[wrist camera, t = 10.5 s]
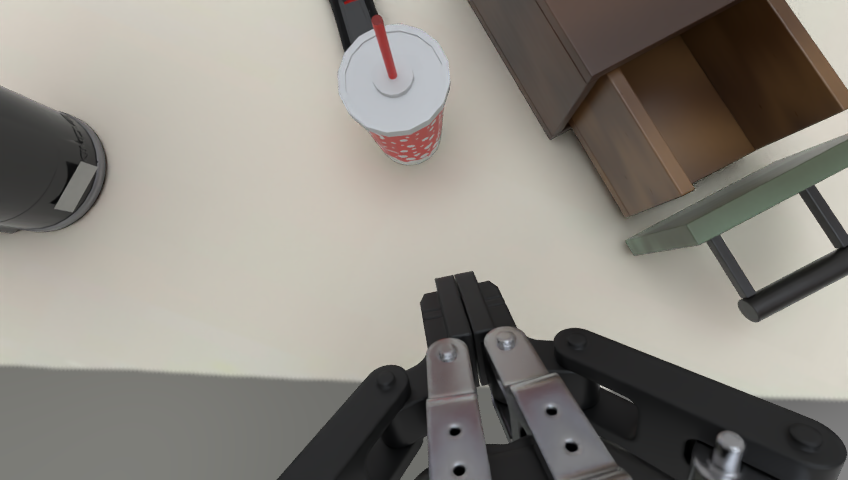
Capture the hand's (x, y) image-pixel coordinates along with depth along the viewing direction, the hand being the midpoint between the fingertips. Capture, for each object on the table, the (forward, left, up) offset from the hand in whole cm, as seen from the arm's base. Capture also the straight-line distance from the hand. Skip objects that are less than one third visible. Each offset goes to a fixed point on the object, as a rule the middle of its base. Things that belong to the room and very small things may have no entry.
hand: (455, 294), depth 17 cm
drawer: (+17, 0, -13) cm, 22 cm away
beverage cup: (+2, +12, -14) cm, 19 cm away
